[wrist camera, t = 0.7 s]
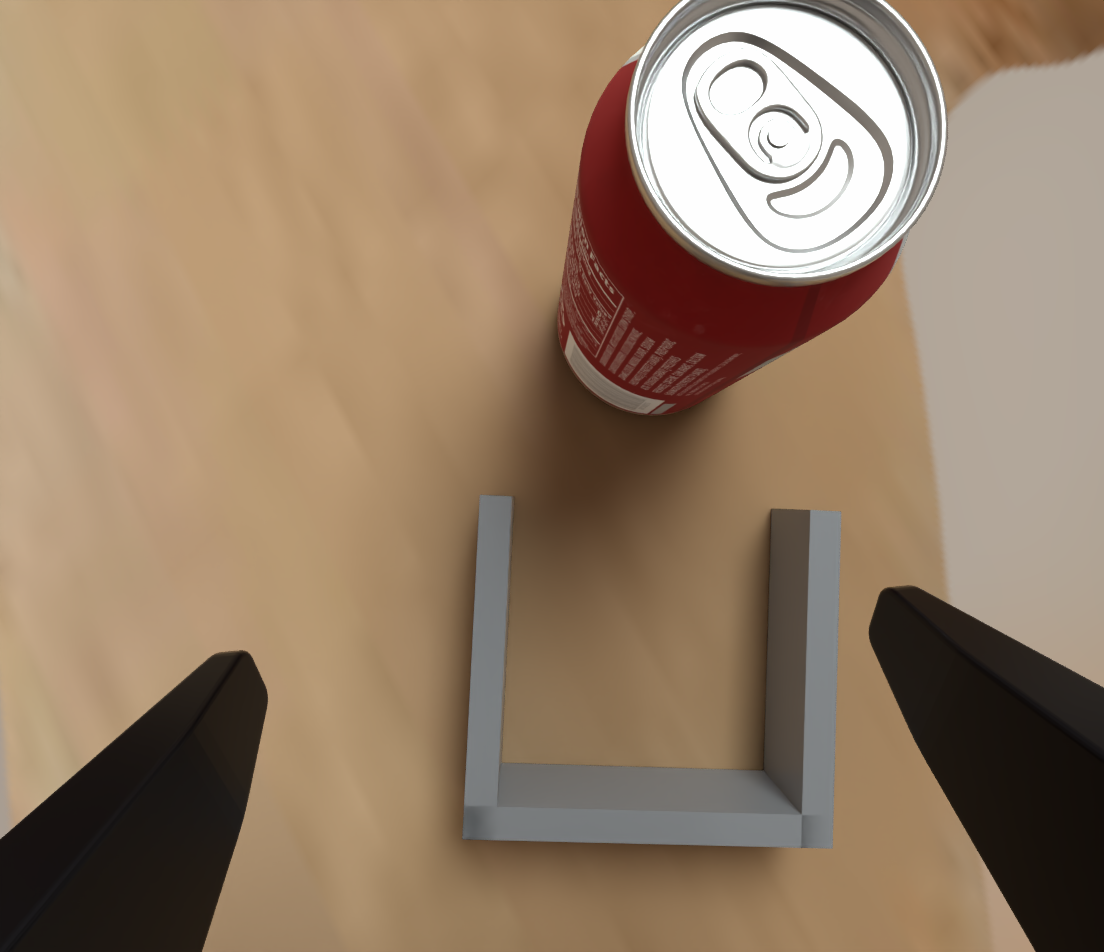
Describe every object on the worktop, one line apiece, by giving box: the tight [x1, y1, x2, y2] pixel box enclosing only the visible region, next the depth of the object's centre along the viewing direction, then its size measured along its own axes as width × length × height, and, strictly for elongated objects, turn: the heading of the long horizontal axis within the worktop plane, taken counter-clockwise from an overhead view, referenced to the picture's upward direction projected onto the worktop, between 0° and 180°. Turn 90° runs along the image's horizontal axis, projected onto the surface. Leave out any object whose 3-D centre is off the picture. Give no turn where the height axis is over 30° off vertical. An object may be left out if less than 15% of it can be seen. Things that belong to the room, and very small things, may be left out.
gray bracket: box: [462, 495, 841, 848], centre depth 20 cm, size 10×12×3 cm
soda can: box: [557, 0, 948, 416], centre depth 16 cm, size 7×7×12 cm
